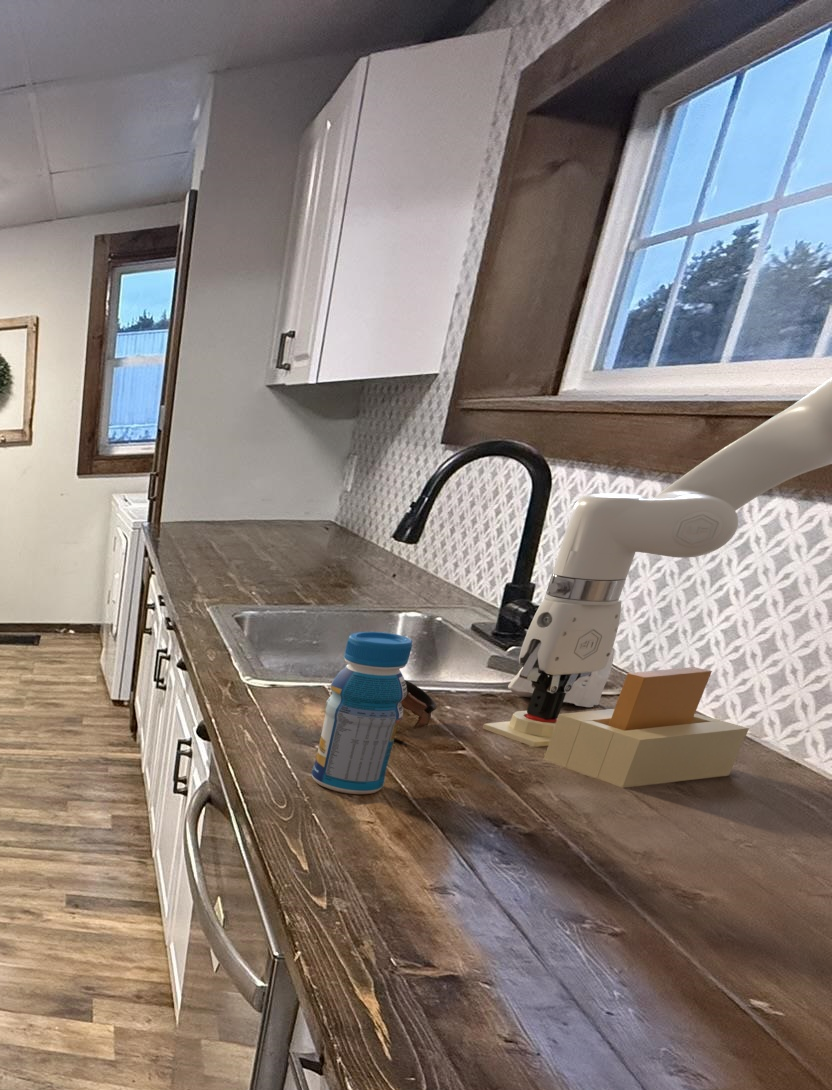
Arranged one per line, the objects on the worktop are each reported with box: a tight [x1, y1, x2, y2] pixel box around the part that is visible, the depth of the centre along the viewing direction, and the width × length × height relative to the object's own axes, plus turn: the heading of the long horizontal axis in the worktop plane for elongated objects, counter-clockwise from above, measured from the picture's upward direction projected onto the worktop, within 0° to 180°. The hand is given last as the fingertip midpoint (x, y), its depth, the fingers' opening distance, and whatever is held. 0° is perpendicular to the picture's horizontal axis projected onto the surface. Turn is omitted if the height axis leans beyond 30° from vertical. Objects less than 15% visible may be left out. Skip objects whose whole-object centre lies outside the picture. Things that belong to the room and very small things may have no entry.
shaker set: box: [507, 647, 616, 708], centre depth 135 cm, size 12×4×11 cm, turn 52°
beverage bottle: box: [311, 631, 413, 795], centre depth 106 cm, size 8×8×20 cm
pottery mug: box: [401, 679, 438, 728], centre depth 128 cm, size 12×10×8 cm
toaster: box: [543, 708, 750, 788], centre depth 107 cm, size 16×10×8 cm, turn 99°
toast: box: [609, 666, 713, 731], centre depth 106 cm, size 10×2×13 cm, turn 99°
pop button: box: [526, 714, 558, 723], centre depth 119 cm, size 4×4×2 cm
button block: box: [482, 710, 559, 748], centre depth 120 cm, size 10×8×4 cm
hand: (541, 716), depth 119 cm, fingers closed
